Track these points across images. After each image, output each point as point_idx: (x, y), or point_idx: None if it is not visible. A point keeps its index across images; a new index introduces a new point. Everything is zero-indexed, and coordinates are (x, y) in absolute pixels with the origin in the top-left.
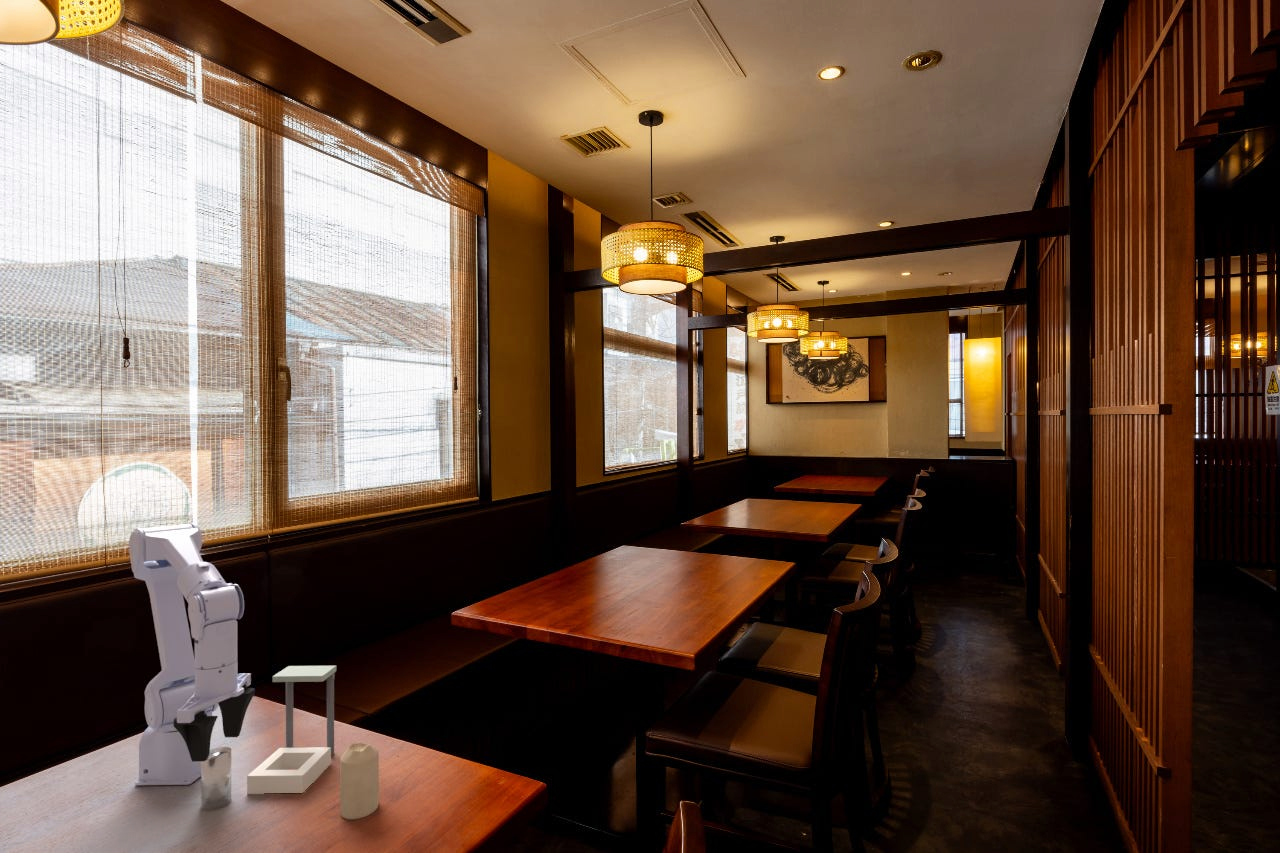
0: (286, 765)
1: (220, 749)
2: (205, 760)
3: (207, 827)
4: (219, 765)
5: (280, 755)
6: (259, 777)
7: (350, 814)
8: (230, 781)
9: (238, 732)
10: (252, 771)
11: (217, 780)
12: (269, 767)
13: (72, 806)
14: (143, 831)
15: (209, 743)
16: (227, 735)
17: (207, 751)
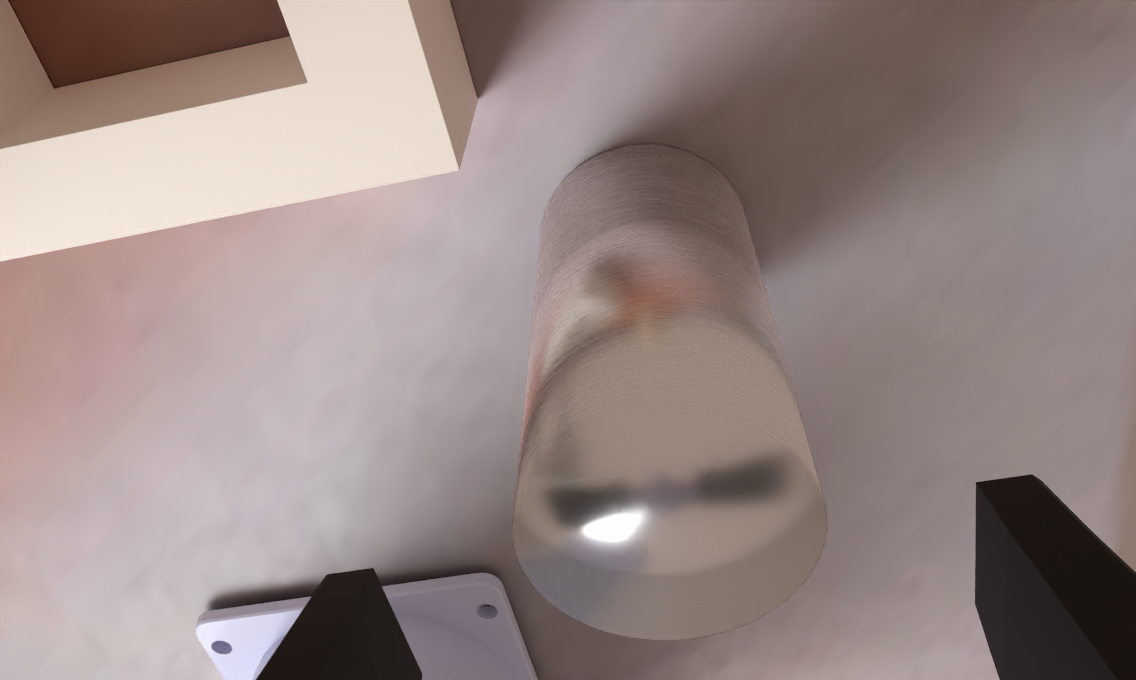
0: (19, 80)
1: (578, 559)
2: (1018, 478)
3: (969, 29)
4: (748, 374)
5: (22, 149)
6: (422, 36)
7: None
8: (598, 236)
9: (351, 605)
10: (376, 183)
11: (748, 291)
12: (230, 92)
13: None
14: (1007, 427)
15: (1104, 634)
16: (406, 673)
17: (1072, 549)
